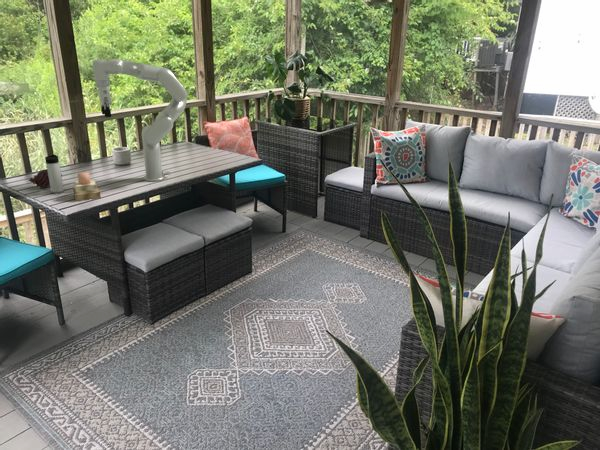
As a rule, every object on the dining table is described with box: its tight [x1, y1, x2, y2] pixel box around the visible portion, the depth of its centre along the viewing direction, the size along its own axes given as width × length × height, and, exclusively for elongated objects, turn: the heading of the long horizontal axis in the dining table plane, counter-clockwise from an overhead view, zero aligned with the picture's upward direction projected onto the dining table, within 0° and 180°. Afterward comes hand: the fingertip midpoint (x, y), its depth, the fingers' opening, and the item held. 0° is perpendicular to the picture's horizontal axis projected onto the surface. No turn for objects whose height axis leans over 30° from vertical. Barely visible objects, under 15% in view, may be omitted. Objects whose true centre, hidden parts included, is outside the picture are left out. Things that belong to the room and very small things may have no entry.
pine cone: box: [28, 169, 63, 189], centre depth 269 cm, size 18×10×10 cm, turn 139°
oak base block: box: [72, 185, 102, 202], centre depth 257 cm, size 12×12×4 cm
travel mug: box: [44, 154, 65, 195], centre depth 260 cm, size 6×7×20 cm
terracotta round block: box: [77, 171, 91, 184], centre depth 254 cm, size 6×6×5 cm
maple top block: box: [74, 179, 97, 194], centre depth 256 cm, size 10×10×4 cm
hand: (106, 115), depth 269 cm, fingers open, 9 cm apart
